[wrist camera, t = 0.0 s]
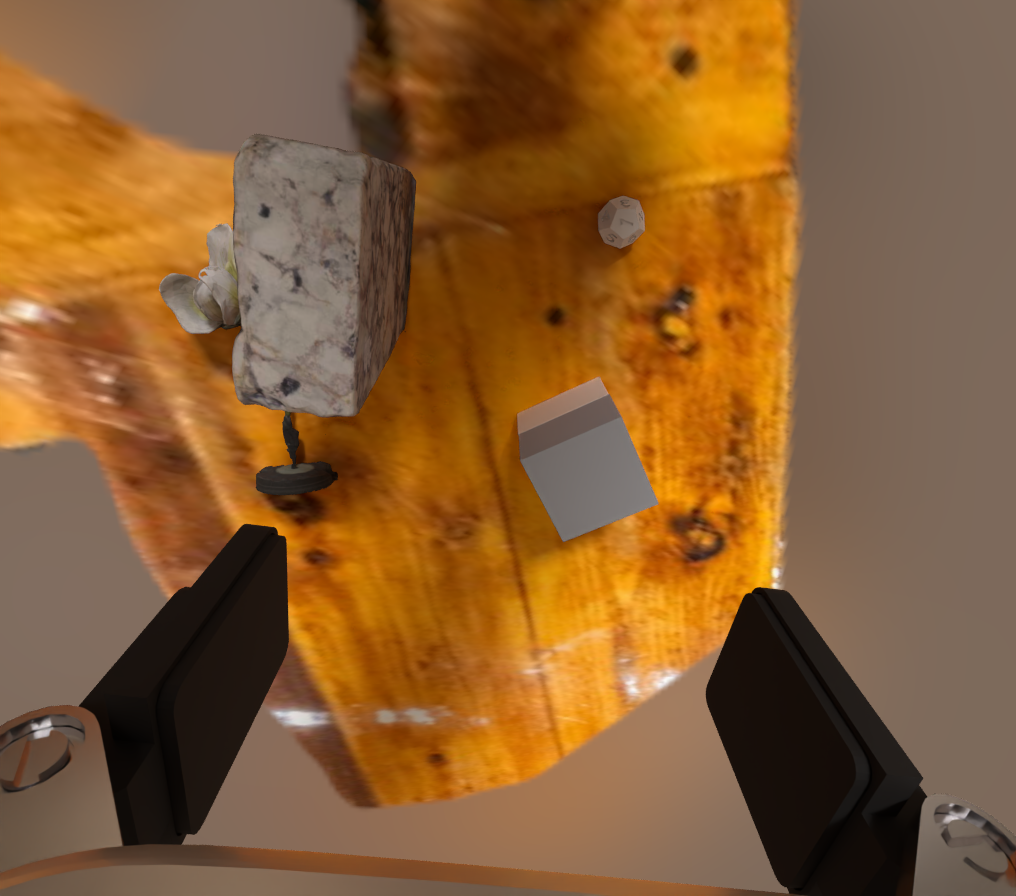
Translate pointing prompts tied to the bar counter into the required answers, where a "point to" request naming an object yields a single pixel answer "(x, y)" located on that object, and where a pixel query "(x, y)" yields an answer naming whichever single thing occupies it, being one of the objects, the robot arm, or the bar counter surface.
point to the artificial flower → (218, 307)
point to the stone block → (317, 273)
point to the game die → (621, 221)
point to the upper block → (586, 468)
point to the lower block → (560, 404)
